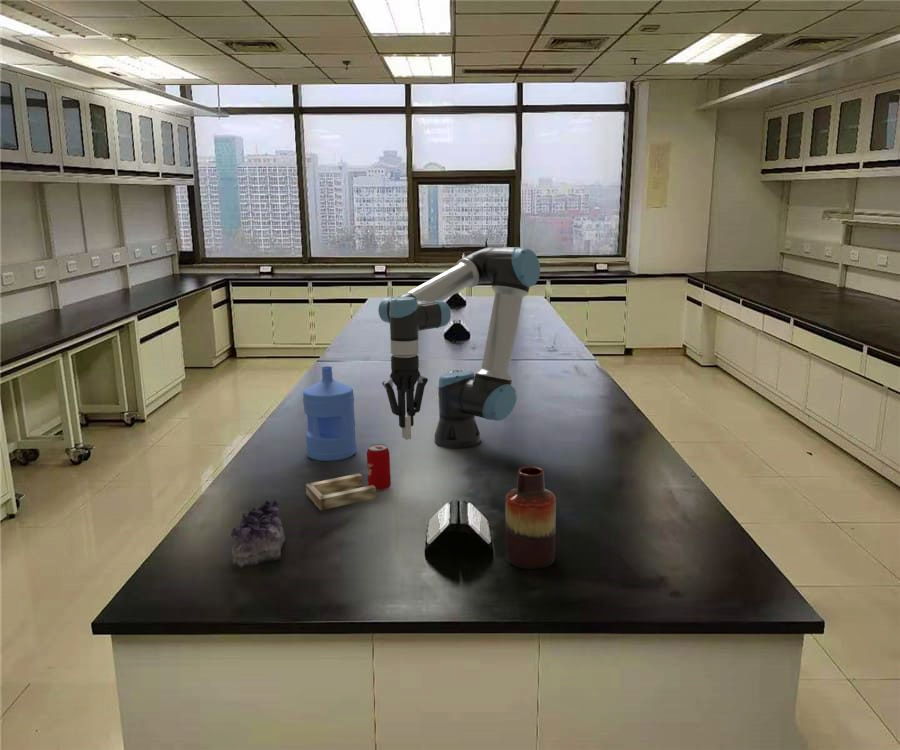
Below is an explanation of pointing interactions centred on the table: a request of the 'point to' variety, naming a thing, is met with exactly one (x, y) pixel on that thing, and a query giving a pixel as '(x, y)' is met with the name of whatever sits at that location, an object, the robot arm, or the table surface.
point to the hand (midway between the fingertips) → (406, 437)
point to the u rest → (339, 491)
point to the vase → (530, 521)
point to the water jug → (329, 419)
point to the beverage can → (378, 466)
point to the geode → (258, 536)
